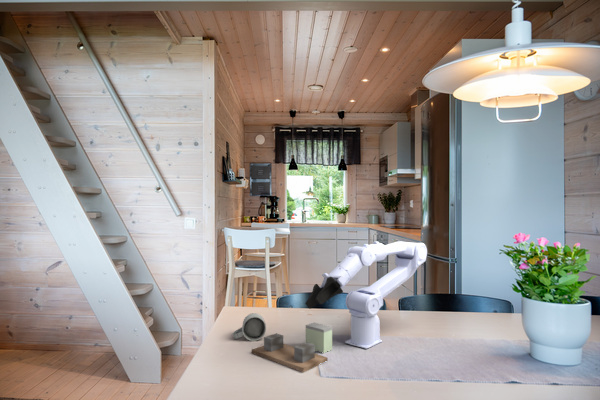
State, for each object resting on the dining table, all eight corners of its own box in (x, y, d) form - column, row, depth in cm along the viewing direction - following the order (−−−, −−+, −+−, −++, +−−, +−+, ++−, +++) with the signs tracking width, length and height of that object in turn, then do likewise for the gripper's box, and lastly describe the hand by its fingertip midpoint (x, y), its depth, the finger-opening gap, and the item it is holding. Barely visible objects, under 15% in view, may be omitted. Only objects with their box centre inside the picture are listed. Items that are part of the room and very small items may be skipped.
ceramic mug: (264, 332, 131) (264, 309, 131) (266, 340, 123) (266, 316, 123) (232, 334, 129) (232, 311, 130) (232, 342, 121) (232, 318, 121)
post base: (276, 344, 119) (276, 329, 119) (327, 361, 106) (327, 344, 106) (251, 353, 112) (251, 337, 112) (303, 372, 98) (303, 354, 99)
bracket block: (314, 344, 120) (314, 322, 120) (332, 350, 115) (332, 326, 115) (305, 347, 117) (305, 325, 117) (323, 353, 112) (323, 329, 112)
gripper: (324, 269, 123) (294, 297, 116) (344, 257, 110) (313, 288, 103) (338, 286, 122) (310, 315, 115) (361, 276, 110) (330, 308, 103)
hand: (312, 303), depth 109 cm, fingers open, 7 cm apart
